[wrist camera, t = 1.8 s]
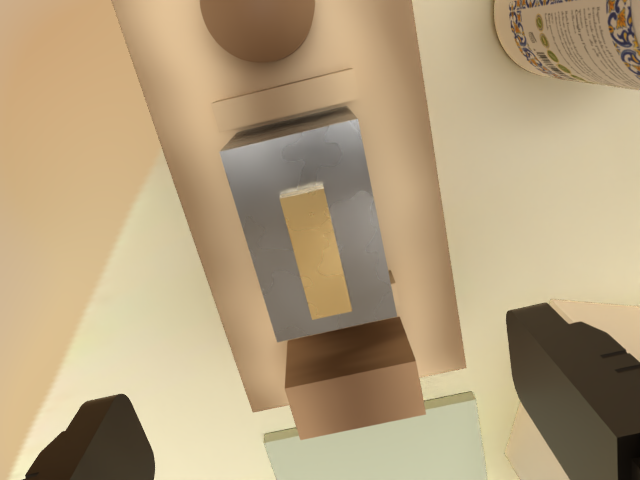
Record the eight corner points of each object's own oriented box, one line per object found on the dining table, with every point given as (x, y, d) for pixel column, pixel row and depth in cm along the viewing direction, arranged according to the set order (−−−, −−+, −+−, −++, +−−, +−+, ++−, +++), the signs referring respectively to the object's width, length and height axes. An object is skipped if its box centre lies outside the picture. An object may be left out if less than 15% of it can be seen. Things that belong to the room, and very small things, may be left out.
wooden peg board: (382, -72, 23) (419, -134, 15) (446, 329, 31) (492, 418, 23) (136, -8, 24) (57, -38, 16) (259, 369, 31) (244, 468, 24)
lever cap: (346, 105, 22) (359, 120, 17) (379, 267, 25) (399, 323, 19) (237, 131, 22) (216, 155, 17) (282, 288, 25) (276, 350, 20)
